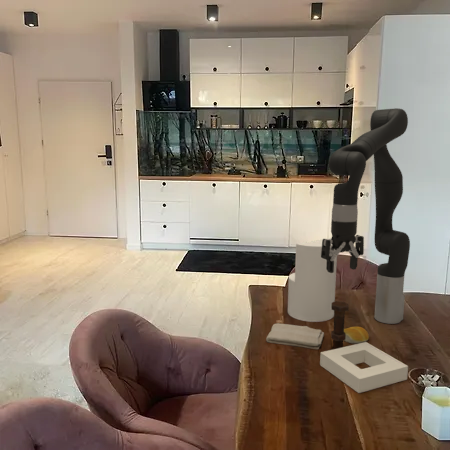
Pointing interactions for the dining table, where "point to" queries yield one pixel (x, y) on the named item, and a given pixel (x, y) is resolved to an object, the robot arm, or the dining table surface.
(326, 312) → the cylinder
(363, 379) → the collar block
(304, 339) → the washcloth
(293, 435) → the dining table surface
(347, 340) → the bread roll
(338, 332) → the bolt
